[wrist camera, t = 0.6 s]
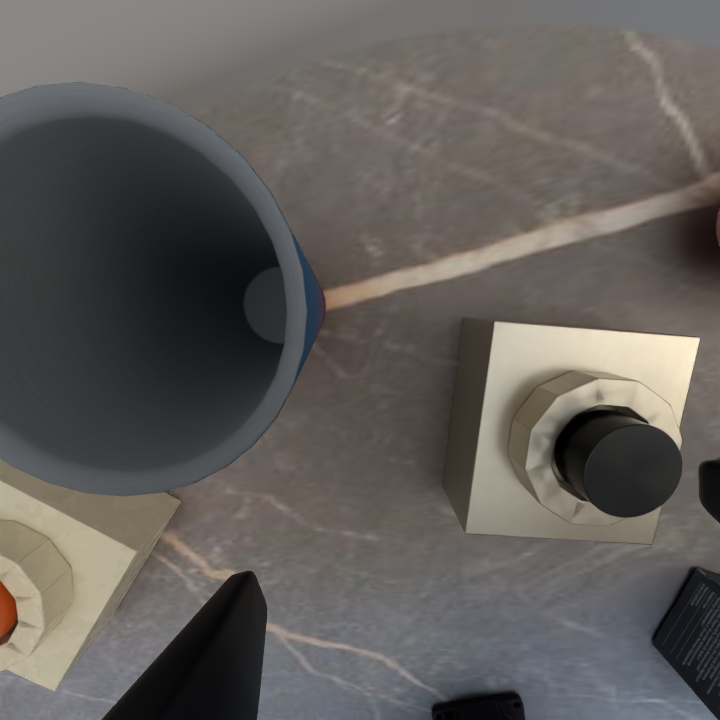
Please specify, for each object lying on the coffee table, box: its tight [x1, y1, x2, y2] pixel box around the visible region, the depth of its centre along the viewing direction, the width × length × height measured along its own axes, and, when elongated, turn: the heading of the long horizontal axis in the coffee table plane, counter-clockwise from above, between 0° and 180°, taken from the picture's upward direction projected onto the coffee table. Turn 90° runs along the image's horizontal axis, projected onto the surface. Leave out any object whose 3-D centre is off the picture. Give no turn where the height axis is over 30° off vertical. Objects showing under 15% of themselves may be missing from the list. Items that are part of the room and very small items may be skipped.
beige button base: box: [443, 317, 700, 545], centre depth 19 cm, size 11×10×6 cm
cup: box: [0, 82, 326, 496], centre depth 13 cm, size 7×7×15 cm
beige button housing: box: [0, 459, 181, 691], centre depth 19 cm, size 10×10×6 cm
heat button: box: [555, 410, 682, 518], centre depth 15 cm, size 4×4×2 cm
